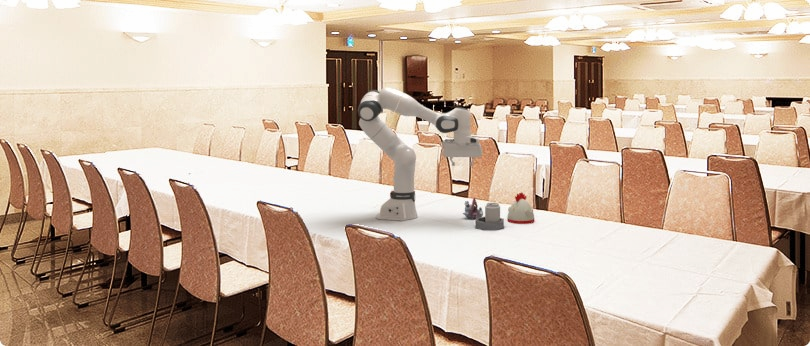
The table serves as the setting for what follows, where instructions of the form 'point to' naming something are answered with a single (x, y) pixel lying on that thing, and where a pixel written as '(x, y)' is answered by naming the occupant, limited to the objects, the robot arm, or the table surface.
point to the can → (492, 212)
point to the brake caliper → (472, 210)
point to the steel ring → (489, 224)
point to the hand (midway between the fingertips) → (462, 165)
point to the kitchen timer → (520, 211)
